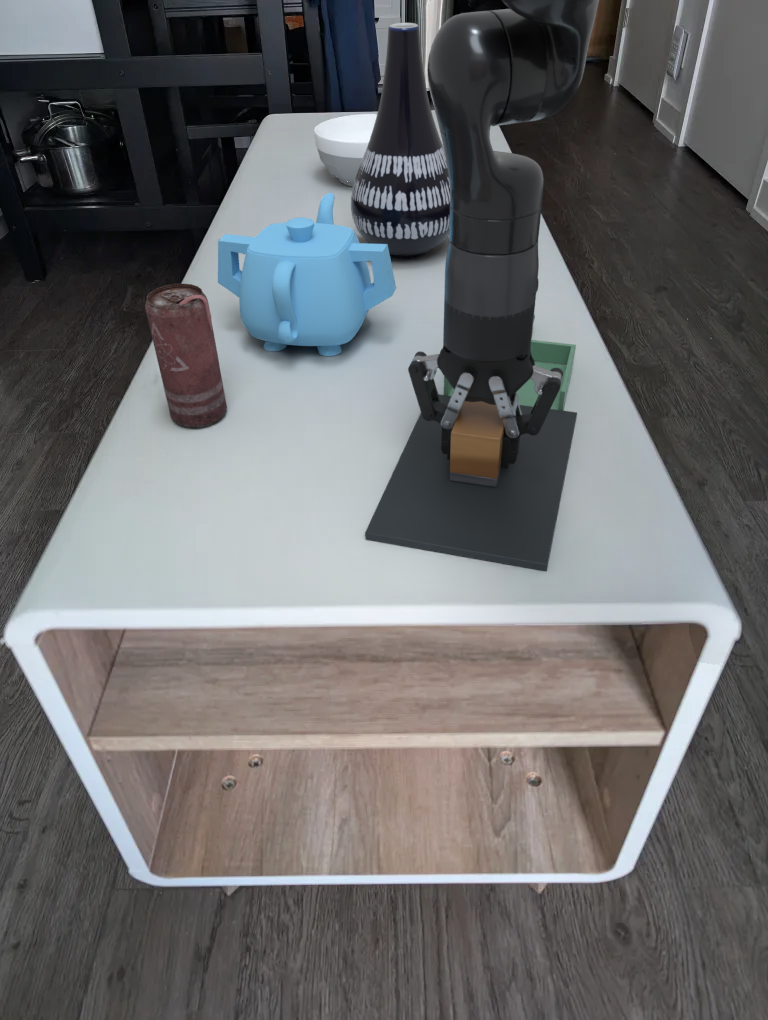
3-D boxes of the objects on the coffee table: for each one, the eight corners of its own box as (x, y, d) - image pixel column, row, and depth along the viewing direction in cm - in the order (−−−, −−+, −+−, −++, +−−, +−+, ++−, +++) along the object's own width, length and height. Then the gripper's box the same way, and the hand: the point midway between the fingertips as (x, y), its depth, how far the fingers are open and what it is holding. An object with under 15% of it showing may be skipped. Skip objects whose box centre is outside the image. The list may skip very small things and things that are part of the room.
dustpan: (562, 415, 85) (565, 391, 83) (443, 399, 88) (444, 376, 86) (580, 332, 99) (583, 310, 97) (477, 321, 102) (478, 300, 100)
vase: (477, 242, 122) (488, 19, 103) (423, 280, 112) (424, 41, 93) (390, 223, 129) (386, 11, 110) (332, 257, 119) (316, 30, 100)
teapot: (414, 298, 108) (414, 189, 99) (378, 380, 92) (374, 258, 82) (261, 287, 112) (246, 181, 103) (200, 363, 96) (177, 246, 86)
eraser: (496, 487, 74) (500, 439, 71) (449, 480, 75) (450, 432, 72) (506, 451, 79) (511, 404, 75) (462, 445, 80) (464, 398, 76)
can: (225, 429, 85) (202, 307, 76) (165, 430, 85) (136, 308, 76) (233, 398, 89) (213, 280, 80) (177, 400, 89) (150, 281, 80)
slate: (546, 571, 67) (547, 564, 66) (365, 539, 71) (364, 532, 70) (576, 418, 84) (577, 411, 84) (429, 399, 88) (429, 392, 88)
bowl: (307, 169, 152) (303, 120, 146) (401, 158, 156) (400, 109, 150) (332, 201, 138) (328, 147, 133) (434, 187, 142) (435, 135, 137)
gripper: (394, 303, 65) (397, 471, 75) (573, 321, 61) (549, 494, 72) (417, 266, 70) (416, 428, 81) (582, 281, 67) (558, 448, 78)
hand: (479, 459), depth 77 cm, fingers closed on eraser, 4 cm apart
